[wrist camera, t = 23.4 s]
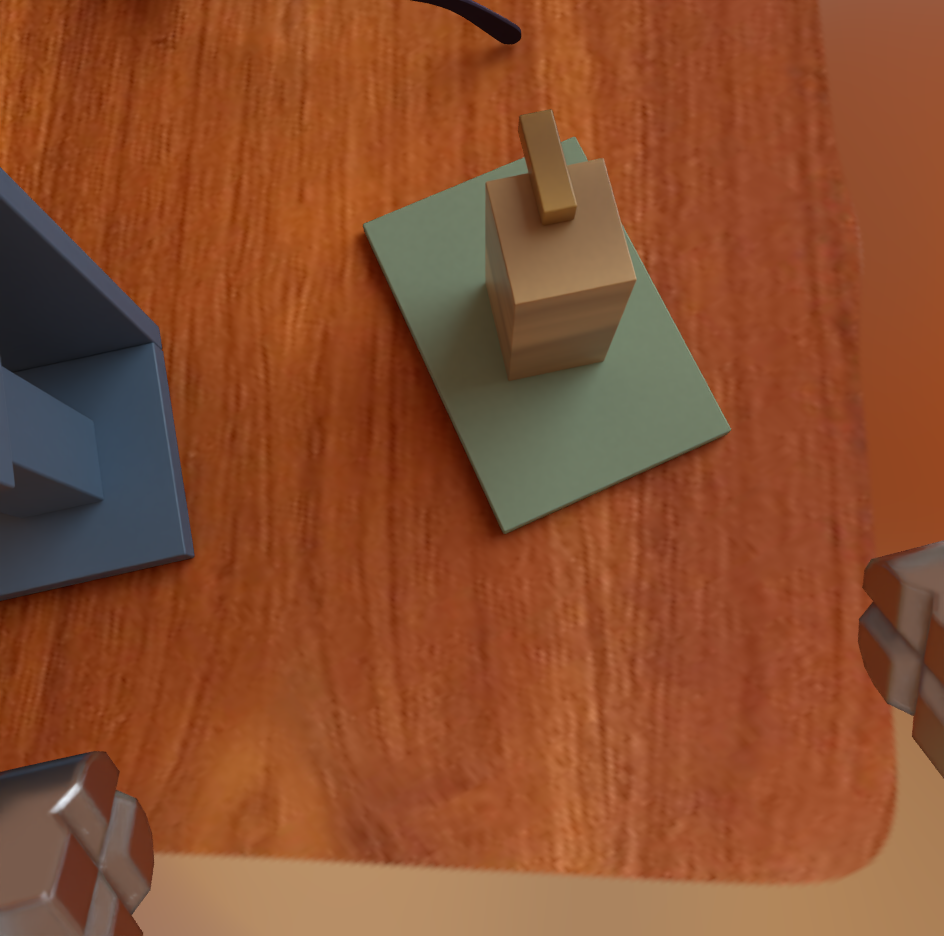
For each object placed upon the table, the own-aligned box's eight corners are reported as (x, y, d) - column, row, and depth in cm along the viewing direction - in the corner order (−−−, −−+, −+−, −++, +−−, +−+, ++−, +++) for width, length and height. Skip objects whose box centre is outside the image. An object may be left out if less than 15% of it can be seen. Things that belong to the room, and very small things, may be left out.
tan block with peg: (604, 361, 32) (642, 267, 24) (508, 381, 31) (515, 293, 24) (570, 229, 33) (595, 99, 25) (477, 248, 33) (474, 123, 25)
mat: (727, 434, 32) (732, 430, 31) (503, 535, 31) (503, 532, 30) (573, 144, 34) (575, 135, 34) (363, 231, 33) (361, 223, 33)
